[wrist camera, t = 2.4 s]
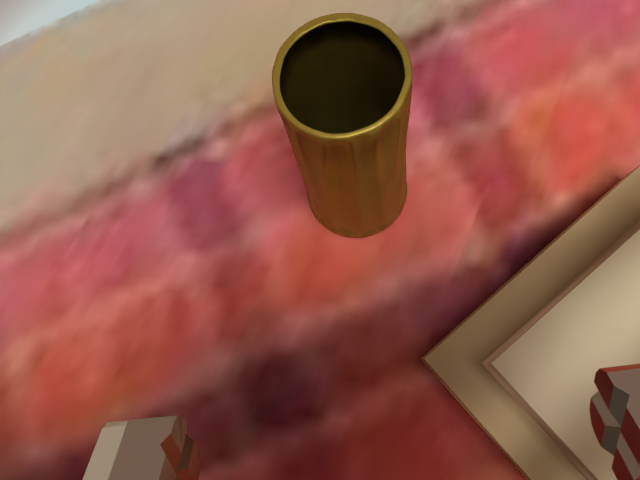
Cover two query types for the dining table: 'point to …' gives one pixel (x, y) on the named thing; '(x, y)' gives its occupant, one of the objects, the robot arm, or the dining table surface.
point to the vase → (347, 118)
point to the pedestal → (553, 342)
